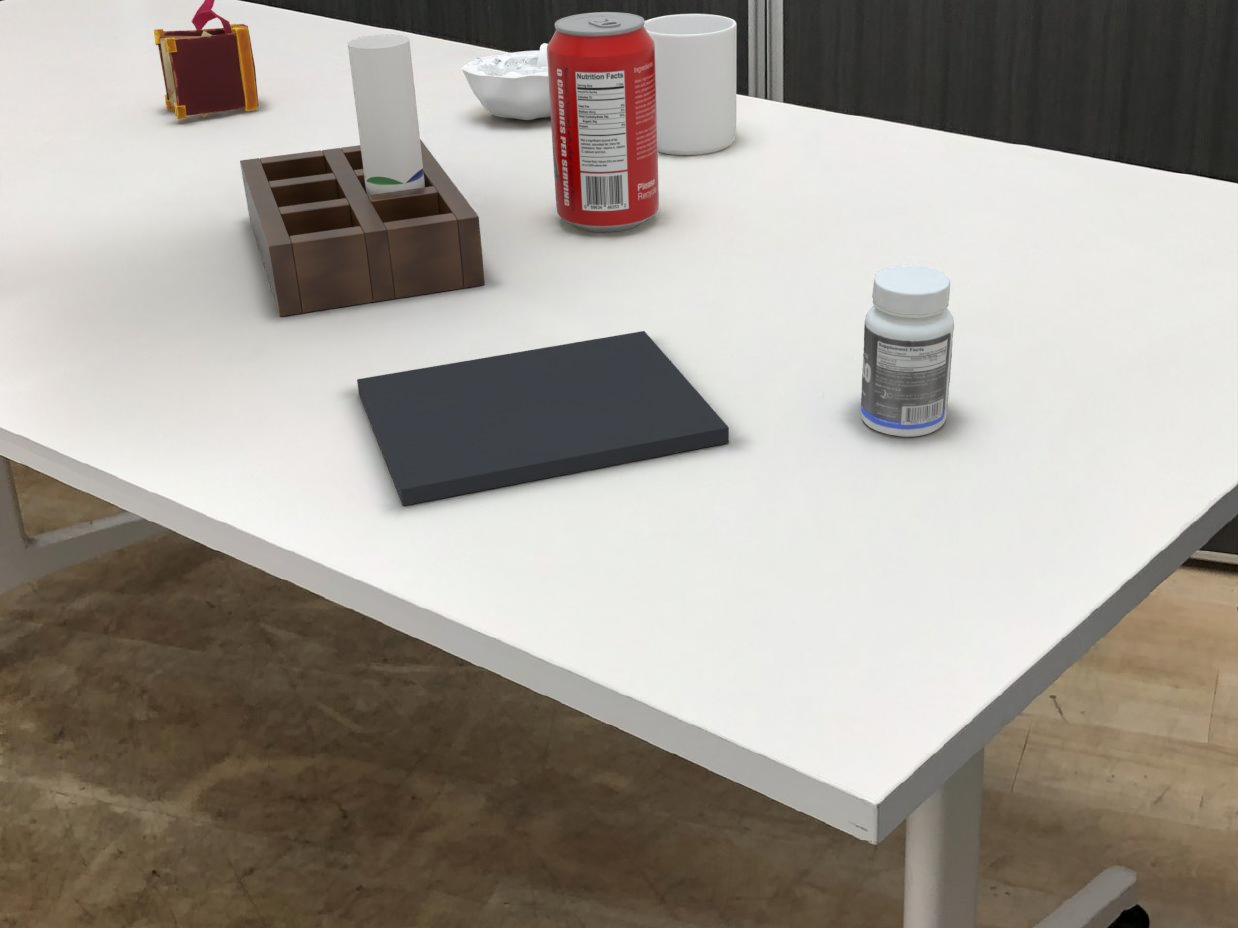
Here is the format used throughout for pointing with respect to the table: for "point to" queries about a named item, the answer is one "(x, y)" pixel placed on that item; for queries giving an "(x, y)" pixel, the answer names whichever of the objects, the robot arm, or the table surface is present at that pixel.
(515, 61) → the cell model
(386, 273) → the box
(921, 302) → the pill bottle
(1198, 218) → the table surface
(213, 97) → the book monster
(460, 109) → the table surface
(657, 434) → the mat
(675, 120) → the mug
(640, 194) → the soda can
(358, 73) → the tube
